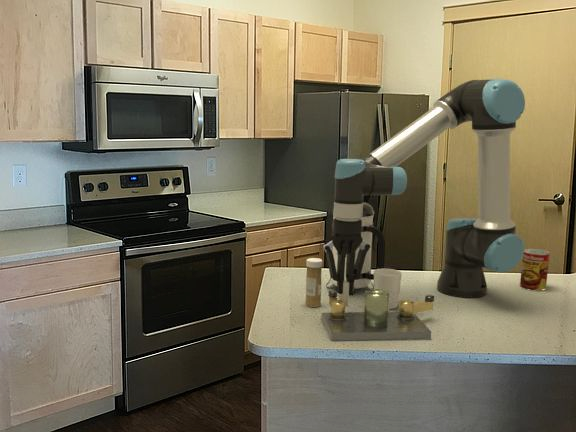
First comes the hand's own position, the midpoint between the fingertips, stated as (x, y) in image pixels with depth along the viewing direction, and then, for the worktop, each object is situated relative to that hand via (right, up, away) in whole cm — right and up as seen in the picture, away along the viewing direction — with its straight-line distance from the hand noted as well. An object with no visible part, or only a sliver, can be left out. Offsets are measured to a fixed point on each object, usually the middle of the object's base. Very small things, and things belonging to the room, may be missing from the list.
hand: (343, 304), depth 170 cm
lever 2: (+19, -2, -1) cm, 19 cm away
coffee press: (+6, +1, +28) cm, 28 cm away
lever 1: (-2, -2, -2) cm, 3 cm away
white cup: (+13, -2, +13) cm, 18 cm away
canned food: (+64, +1, +35) cm, 73 cm away
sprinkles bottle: (-8, -2, +11) cm, 14 cm away
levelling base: (+7, -5, -7) cm, 11 cm away
